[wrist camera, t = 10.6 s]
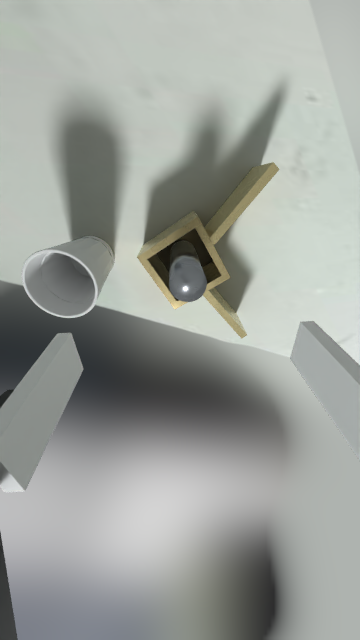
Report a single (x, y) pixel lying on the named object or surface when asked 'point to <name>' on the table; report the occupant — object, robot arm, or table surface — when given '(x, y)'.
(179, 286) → the pin
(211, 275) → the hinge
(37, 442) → the robot arm
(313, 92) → the table surface
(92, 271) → the cup
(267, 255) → the table surface
